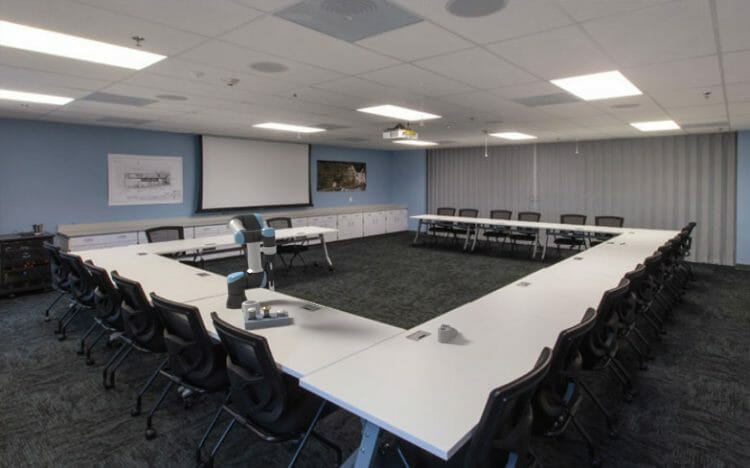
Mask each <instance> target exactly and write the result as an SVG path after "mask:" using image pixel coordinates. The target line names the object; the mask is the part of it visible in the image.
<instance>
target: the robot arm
mask: <svg viewBox="0 0 750 468" xmlns="http://www.w3.org/2000/svg"><path fill="white" fill-rule="evenodd" d="M226 224H227V225H226V227H227V230H228V231H229V232H230V233H232V234H233V242H234V244H235V245H243V244H244V245H245V244H247V258H248V259H247V260H248V269H247V270H246V273H244V271H238V272H232V273H230V274H228V275H227V277H226V285H227V287H226V288H227V299H226V303H225V307H226V309H242V303H243V302H245V301H248V300H249V299H248V298H247V295H246V291H249V290H250V291H251V290H257V289H261V288H265V286H266V284H267V281H268V285H269V292H275V283H274V282H275V281H274V280H276V279H275V277H274V275H275V274H274V273H275V272H274V271H275V267H274V266H275V262H274V261H276V260H277V246H276V245H277V243H276V241H277V240H276V230H275V228H274V227H265V223H264V220H263V217H262V215H261V214H259V213H247V214H236V215H233V216H232V217H230V219H228V221H227V223H226ZM261 243H262V247H263V248H261ZM261 249H262V251H263V261H267V262H266V265H267V270H268V280H267V273H266V271H264V268H262V259H261V257H262V256H261Z"/></svg>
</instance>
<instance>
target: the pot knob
mask: <svg viewBox="0 0 750 468" xmlns="http://www.w3.org/2000/svg"><path fill="white" fill-rule="evenodd" d="M261 310H262V311H263V314H264V318H269V317H270V315H269V313H270V310H271V306H269V305H266V306H262V307H261Z"/></svg>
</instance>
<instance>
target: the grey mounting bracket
mask: <svg viewBox="0 0 750 468" xmlns="http://www.w3.org/2000/svg"><path fill="white" fill-rule="evenodd" d="M458 334H459V331H458V329H457V328H455V327H451V325H450V324H445V323H442V324H441V326H439V327H438V328H437V342H438V343H439V344H448V343H449V342H450V341H451V340H454V339H453V338H455V337H456V336H457V335H458Z"/></svg>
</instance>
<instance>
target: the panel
mask: <svg viewBox="0 0 750 468" xmlns="http://www.w3.org/2000/svg"><path fill="white" fill-rule="evenodd" d="M269 315H270V317H269V318H264V313H262V314H260V315H256V319H254V320H249V316H245V318H244V330H245V331H246V330H254V329H264V328H270V327H280V326H287V325H290V324H291V322H290V321H291V320H290V316H289V312H288V311H285V313H284V316H283V317H278V314H277V312H271V313H270V312H269Z"/></svg>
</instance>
